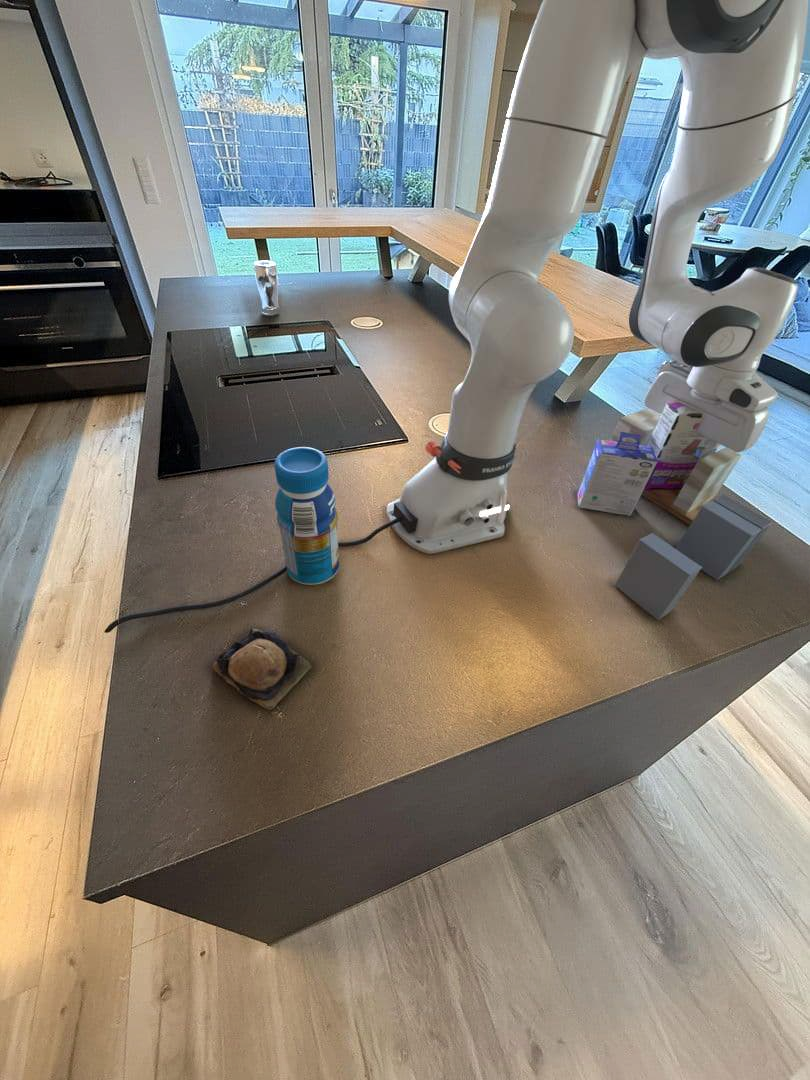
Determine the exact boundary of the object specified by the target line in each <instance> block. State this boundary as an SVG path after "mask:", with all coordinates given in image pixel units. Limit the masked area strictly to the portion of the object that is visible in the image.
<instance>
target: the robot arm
mask: <svg viewBox="0 0 810 1080" xmlns="http://www.w3.org/2000/svg"><path fill="white" fill-rule="evenodd" d="M808 13H809V0H542V2H541V4H540V7H539V10H538V12H537V15H536V18H535V20H534V23H533V25H532V28H531V31H530V34H529V37H528V40H527V43H526V46H525V49H524V52H523V55H522V59H521V62H520V65H519V68H518V71H517V75H516V79H515V82H514V87H513V89H512V93H511V97H510V102H509V105H508V110H507V114H506V118H507V119H505V123H504V127H503V132H502V137H501V141H500V146H499V151H498V154H497V158H496V159H497V160H496V162H495V163H496V164H495V168H494V172H493V175H492V181H491V185H490V190H489V194H488V196H487V197H488V198H487V201H486V205H485V208H484V211H483V214H482V217H481V220H480V223H479V225H478V227H477V230H476V233H475V236H474V238H473V241H472V242H471V245H470V248H469V251H468V252H467V256H466V258H465V260H464V263H463V265H462V266H461V267H460V268H459V269H458V270H457V272H456V273H455V274H454V276H453V277H452V280H451V282H450V285H449V289H448V305H449V309H450V314H451V316H452V318H453V322H454V324H455V327H456V328H457V329H458V331H459V332H460V333H461V334H462V335H463V337H464V338H465V339H466V340H467V341H468V342H469V345H470V349H471V356H470V357H471V359H470V362H469V367H468V369H467V372H466V375H465V376H464V379H463V381H462V382H461V383H459V384H458V385H457V386H456V387H455V389H454V391H453V393H452V399H451V406H450V413H449V419H448V420H449V421H448V428H447V432H446V433H445V435H444V437H443V439H442V441H441V443H440V445H438V444H437V443H436V442H435V441H434V440H430V441H428V442H427V443H426V445H425V447H424V449H425V452H426V453H428V454H430V456H431V457H433V459H432V460H431V461H429V462H428V463H427V464H426V465H425V466H424V467H423V468H421V470H420V471H418V472H417V473H416V474H415V475H414V476H413V477H412V478H410V479H409V480H408V481H407V482H406V483H405V484H404V486H403V488H402V490H401V494H400V497H399V498H398V499H396V500H394V501H392V502H389V504H387V506H386V510H385V511H386V512H385V513H386V519H387V522H385V523H384V524H382V525H380V526H379V527H377V528H375V530H373V531H372V532H371V533H370V534H368V535H367V536H365V537H363V538H360V539H357V540H352V541H338V548H339V547H341V548H342V547H352V546H353V547H354V546H359V545H362V544H365V543H367V542H369V541H371V539H373V538H374V537H375V536H377V535H378V534H379V533H381V532H382V531H384V530H386V529H387V528H390V527H391V528H392V529H393V531H394V532H395V533H396V534H397V535H398V536H399V537H400V538H401V539H402V540H403V541H404V542H405V543H406V544H407V545H409V546H410V547H411V548H413V549H415V550H417V551H419V552H421V553H423V554H426V555H434V554H438V553H443V552H446V551H450V550H454V549H458V548H462V547H463V548H464V547H467V546H470V545H474V544H475V545H476V544H479V543H483V542H486V541H491V540H495V539H499V538H502V537H504V535H505V530H506V527H505V519H506V517H507V511H508V510H510V504H507V496H508V483H509V482H508V481H509V471H510V470H511V468H512V466H513V463H514V461H515V453H516V449H517V444H516V440H517V435H518V431H519V427H520V424H521V421H522V417H523V413H524V410H525V407H526V404H527V402H528V400H529V398H530V396H531V394H532V392H533V391H534V389H535V387H536V386H537V384H538V383H540V382H542V381H544V380H546V379H548V378H549V377H551V376H552V375H553V374H555V373H556V372H557V371H558V370H559V369H560V368H561V367H562V365H563V364H564V363H565V362H566V360H567V359H568V357H569V355H570V354H571V351H572V348H573V345H574V340H575V326H574V322H573V320H572V318H571V316H570V314H569V313H568V310H567V309H566V307H565V306H564V305H563V303H562V302H561V300H560V298H559V297H558V296H557V295H556V294H555V293H554V292H553V291H552V290H550V289H548V288H547V287H546V286H545V285H543V284H541V283H539V281H540V277H541V274H542V272H543V269H544V267H545V265H546V263H547V262H548V260H549V258H550V257H551V254H552V253H553V251H554V250H555V248H556V246H557V245H558V244H559V242H560V241H561V240H562V239H563V238H564V237H566V236H567V235H568V234H570V232H572V231H573V230H574V228H576V226H577V225H578V222H579V220H580V218H581V216H582V213H583V210H584V207H585V204H586V202H587V198H588V195H589V192H590V189H591V186H592V184H593V180H594V177H595V174H596V171H597V168H598V165H599V162H600V160H601V156H602V153H603V150H604V147H605V144H606V142H607V138H608V135H609V132H610V128H611V125H612V122H613V120H614V116H615V113H616V109H617V105H618V102H619V99H620V95H621V94H622V91H623V89H624V87H625V85H626V83H627V81H628V79H629V77H630V76H631V74H632V72H633V71H634V69H635V68H636V66H637V65H638V63H640V61H641V60H642V59H643V58H647V59H650V60H666V59H672V58H676V57H677V59H678V62H679V64H680V67H681V71H682V80H683V85H682V91H681V92H682V93H681V98H680V105H679V113H678V121H677V122H678V123H677V131H676V138H675V146H674V149H673V154H672V155H673V156H672V160H671V163H670V166H669V169H668V171H667V172H666V174H665V175H664V177H663V178H662V181H661V183H660V186H659V189H658V191H657V195H656V199H655V203H654V207H653V208H654V209H653V212H652V217H651V223H650V228H649V233H648V241H647V245H646V251H645V257H644V262H643V268H642V274H641V278H640V281H639V285H638V288H637V291H636V294H635V296H634V298H633V301H632V304H631V307H630V310H629V314H628V325H629V329H630V332H631V334H632V336H634V337H635V338H636V339H637V340H639V341H642V342H644V343H646V344H649V345H651V346H653V347H655V348H656V349H658V350H659V351H661V352H663V353H664V354H666V355H668V356H669V357H672V358H673V359H671V360H666V361H664V362H662V363H661V365H660V366H659V369H658V371H657V373H656V378H655V379H654V381H653V382H652V384H651V385H650V387H649V389H648V390H647V392H646V394H645V396H644V399H643V402H644V403H643V404H644V407H645V408H646V409H647V408H648V409H650V410H652V411H654V412H656V413H658V414H660V415H661V414H662V411H663V409H664V407H665V405H666V403H681V404H684V405H686V406H688V407H691V408H693V409H695V410H697V411H699V412H701V413H703V414H704V415H705V416H704V418H703V420H702V422H701V424H700V426H699V427H698V429H697V433H699V434H701V435H703V436H705V437H707V438H709V439H710V441H709V443H708V444H709V445H711V446H709V447H708V448H705V447H701V448H699V449H697V451H696V454H694V457H695V458H697V459H699V460H700V459H702V458H704V457H706V456H707V455H708V453H709V452H710V451H711V450H713V449H715V448H717V447H718V448H719V447H721V446H723V447H724V448H728V449H730V450H732V451H734V452H736V453H742V452H745V451H747V450H749V449H751V448H753V446H755V445H756V443H757V442H758V440H759V439H760V437H761V435H762V433H763V432H764V430H765V427H766V425H767V423H768V421H769V418H770V409H769V406H771V405H772V404H773V403H774V402H775V401H776V399H777V398H778V395H779V394H778V392H777V390H775V388H773V387H772V386H771V385H770V384H768V383H767V382H766V381H765V380H764V379H763V378H762V377H761V376H760V375H759V374H758V373H757V370H758V368H759V366H760V363H761V359H762V356H763V354H764V352H765V351H766V350H767V349H768V348H769V347H770V346H771V344H773V342H774V341H775V339H776V337H777V335H778V334H779V333H780V331H781V329H782V327H783V325H784V323H785V321H786V319H787V318H788V315H789V314H790V312H791V309H792V307H793V306H794V302H795V300H796V297H797V293H798V288H799V284H798V283H797V281H796V279H794V278H793V277H791V276H787V275H785V274H782V273H779V272H776V271H773V270H770V269H767V268H763V267H760V266H759V267H758V266H753V267H748V268H746V269H745V271H744V272H742V274H741V276H740V277H739V278H738V279H736V280H735V281H733V282H731V283H730V284H729V285H726V286H724V287H722V288H720V289H717V290H714V291H711V292H709V291H707V290H704V289H703V288H700V287H698V286H695V285H694V284H693V283H692V281H690V279H689V277H688V275H687V265H688V261H689V257H690V253H691V248H692V244H693V240H694V236H695V232H696V229H697V226H698V225H697V224H698V221H699V219H700V217H701V215H702V214H703V212H704V211H705V210H706V208H708V207H711V206H713V205H716V204H718V203H720V202H724V201H726V200H728V199H730V198H732V197H734V196H736V195H738V194H740V193H742V192H743V191H744V190H746V189H748V188H749V187H751V186H752V185H753V184H754V183H755V182H756V181H758V179H760V177H761V176H762V175H764V173H765V172H766V171H767V170H768V169H769V167H770V166H772V164H773V162H774V161H775V159H776V157H777V155H778V153H779V151H780V149H781V146H782V144H783V143H784V139H785V137H786V134H787V130H788V127H789V123H790V119H791V114H792V109H793V106H794V100H795V96H796V93H797V92H796V91H797V87H798V83H799V78H800V74H801V67H802V61H803V56H804V48H805V41H806V34H807V24H808ZM718 448H717V449H718ZM286 572H287V568H286V565H285V566H283V567H282V568H281V569H279V570H278V571H276V572H275V573H272V574H271V575H269V576H268V577H266V578H264V579H263V580H261V581H259V582H258V583H256V584H254V585H253V586H251V587H249V588H247V589H245V590H243V591H240V592H239V593H236V594H233V595H230V596H228V597H225V598H221V599H219V600H214V601H210V602H201V603H194V604H185V605H176V606H170V607H164V608H160V609H155V610H154V609H153V610H147V611H142V612H136V613H135V612H134V613H130V614H127V615H124V616H121V617H119V618H117V619H115V620H113V621H112V622H111V623H110V624H109V625H108V626H107V627H106V628H105V630H104V631H103V633H104V634H108V633H111V632H112V631H113V630H114V629H115V628H116V627H118V626H119V625H121V624H123V623H126V622H128V621H132V620H137V619H142V618H149V617H155V616H161V615H166V614H172V613H177V612H183V611H194V610H204V609H210V608H214V607H215V608H216V607H218V606H219V607H220V606H222V605H225V604H226V605H227V604H229V603H232V602H235V601H237V600H240V599H242V598H244V597H246V596H248V595H250V594H252V593H254V592H256V591H257V590H259V589H261V588H262V587H264V586H266V585H268V584H269V583H271V582H272V581H274V580H275V579H277V578H279V577H281V576H282V575H284V574H285V573H286ZM118 619H119V623H118Z"/></svg>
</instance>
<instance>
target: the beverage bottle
mask: <svg viewBox="0 0 810 1080" xmlns="http://www.w3.org/2000/svg"><path fill="white" fill-rule="evenodd" d="M274 473H275V477H276V482H277V485H278V486H279V488H278V491H277V492H276V496H275V499H274V505H275V510H276V512H277V513H276V524H277V527H278V529H279V533H280V537H281V543H282V548H283V553H284V554H283V555H284V558H285V566H286V568H287V571H286V572H287V574H288V575H289V577H290V578H291V579H292V580H293V581H294V582H296V583H298V584H301V585H305V586H317V585H321V584H325V583H327V582H328V581H330V580H331V579H333V577H335V575H336V574H337V573H338V571H339V568H340V556H339V554H340V553H339V547H338V542H339V538H338V537H339V534H338V533H339V532H338V518H339V515H338V509H337V507H336V504H337V498H336V495H335V493H334V491H333V489H332V487H331V486H330V485H329V483H328V482H329V477H330V475H329V463H328V459H327V457H326V455H325V453H323V452H322V451H320V450H319V449H316V448H313V447H307V446H299V447H293V448H289V449H286V450H284V451H282V452H281V453H279V454H278V455H277V457H276V458H275V460H274Z"/></svg>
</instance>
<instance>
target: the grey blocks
mask: <svg viewBox="0 0 810 1080" xmlns="http://www.w3.org/2000/svg"><path fill="white" fill-rule="evenodd" d="M716 498H717V499H715V500H713V501H711V502H709V503H707V504H706V505H704V506H702V507H701V509H700V511H699V512H698V514H697V515H696V517H695V518H694V520H693V522H692V523H691V525H689V526H688V528H687V529H686V531H685V532H684V533H683V535H682V537H681V539H680V541H679V542H678V544H677V545H676V546H675V547H674V546H672V545H670V544H669V543H668V542H666V541H665V540H664V539H662V538H660V537H659V536H657V535H656V534H654V533H653V532H652V533H650V534H648V535H646V536H644V537H642V538H640V539H639V540H638V542H637V544H636V546H635V548H634V549H633V551H632V553H631V555H630V556H629V559H628V560H627V562H626V564H625V565H624V567H623V569H622V571H621V573H620V575H619V577H618V578H617V580H616V582H615V584H614V587H616V588H617V589H618V590H620V591H621V592H622V593H623V594H625V595H626V596H627V597H628V598H629V599H631V600H632V601H633V602H634V603H636V604H637V605H638V606H639V607H641V608H642V609H643V610H644V611H645V612H647V613H648V614H649V615H651V617H653V619H656V621H659V620H661V619H663V617H665V616H667V615H668V614H670V613H671V611H672V610H673V609H674V608H675V606H676V604H677V603H678V601H679V600H680V599H681V597H682V596H683V595H684V593H685V592H686V590H687V589H688V588H689V586H690V585H691V584H692V582H693V581H694V579H695V578H696V577H697V575H699V573H700V571H702V572H704V573H706V574H707V575H708V576H710V577H712V578H713V579H714V580H715V581H718V580H720V579H721V578H723V577H724V576H726V575H727V574H729V573H731V572H732V571H734V570H735V569H736V568H738V567H739V565H740V564H741V563H742V562H743V561H744V559H745V558H746V557H747V555H748V554H750V552H751V550H752V549H753V548H754V547H755V545H756V544H757V543H758V541H759V540H760V539H761V538H762V536H763V535H764V534H765V533H766V531H768V529H769V527H771V525H772V524H773V521H771V520H770V519H767V518H766V517H764V516H762V515H760V514H758V513H757V512H756V511H754V510H751V509H750V508H748V507H747V506H744V505H743V504H741V503H739V502H738V501H736V500H734V499H732V498H730V497H728V496H727V495H725V494H722V495H720V496H719V497H716Z"/></svg>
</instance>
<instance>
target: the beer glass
mask: <svg viewBox="0 0 810 1080" xmlns="http://www.w3.org/2000/svg"><path fill="white" fill-rule="evenodd" d="M253 265H254V276H255V282H256V287H257V291H258V293H259V296H260V300H261V309H262V308H263V309H266V310H273V309H277V308H278V307H279V308H280V306H279V305H280V304H279V299H278V298H279V277H278V270H277V267H276V263H275V262H274V261H272V260H271V261H270V260H258V261H255V262H253ZM261 314H262V315H264V316H266V317H274V316H273V315H272V314H270V313H268V314H267V313H264V312H262V311H261ZM269 314H270V315H269Z"/></svg>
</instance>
